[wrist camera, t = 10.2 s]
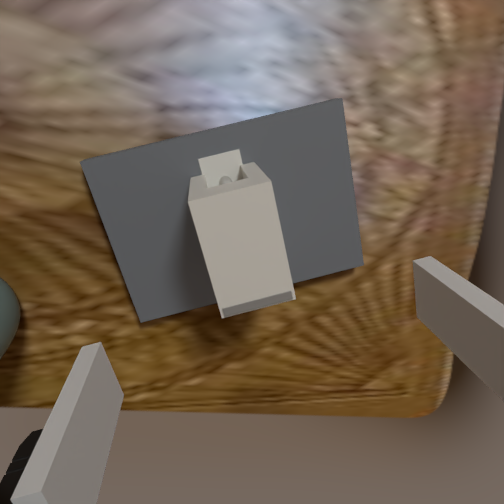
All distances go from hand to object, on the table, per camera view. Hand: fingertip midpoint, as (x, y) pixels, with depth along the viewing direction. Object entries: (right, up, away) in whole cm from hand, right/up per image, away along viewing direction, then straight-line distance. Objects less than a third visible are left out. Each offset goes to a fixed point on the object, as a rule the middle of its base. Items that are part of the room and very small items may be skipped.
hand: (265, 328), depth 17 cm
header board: (-2, +6, +17) cm, 18 cm away
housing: (-2, +6, +16) cm, 17 cm away
